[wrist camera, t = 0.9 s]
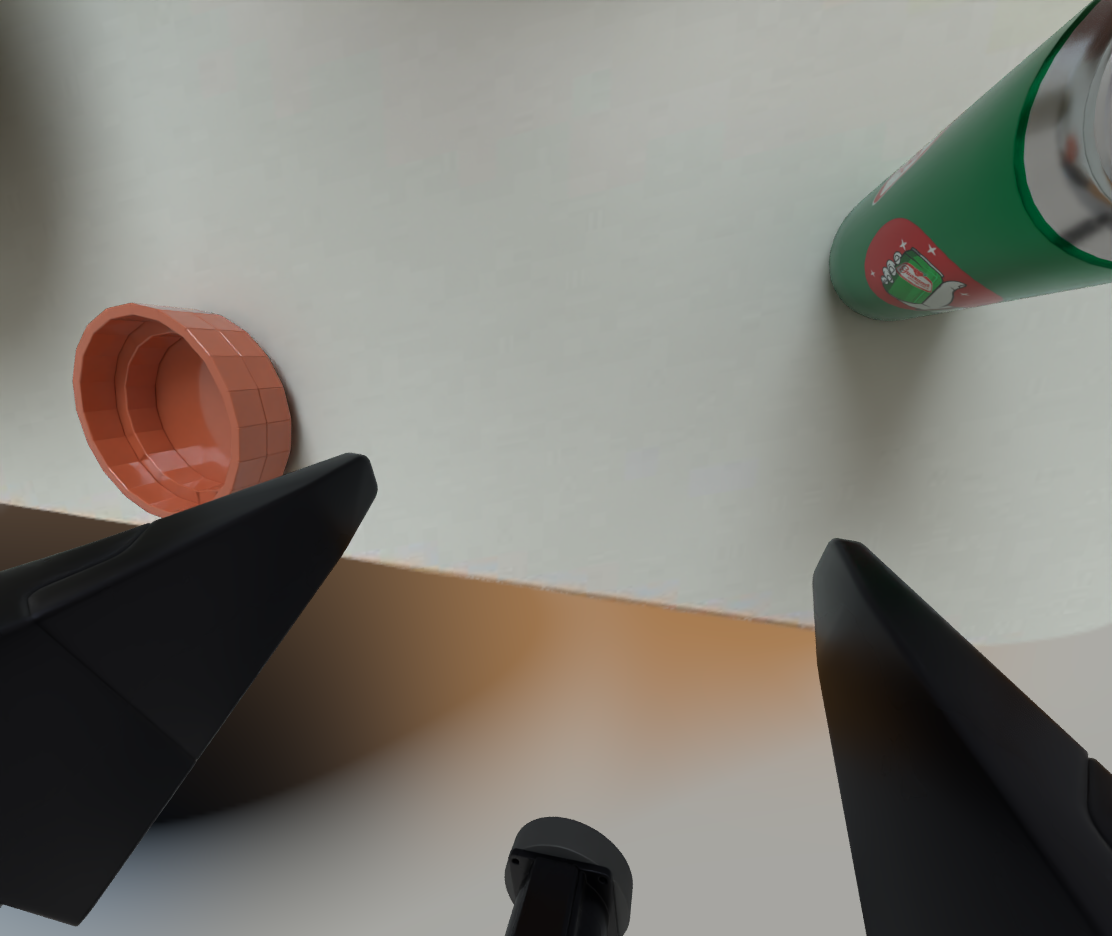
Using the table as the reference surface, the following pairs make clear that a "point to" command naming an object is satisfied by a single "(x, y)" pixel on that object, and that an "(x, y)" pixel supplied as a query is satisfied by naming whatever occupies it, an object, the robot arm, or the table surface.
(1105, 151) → the soda can
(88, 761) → the robot arm
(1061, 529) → the table surface
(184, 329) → the dish
